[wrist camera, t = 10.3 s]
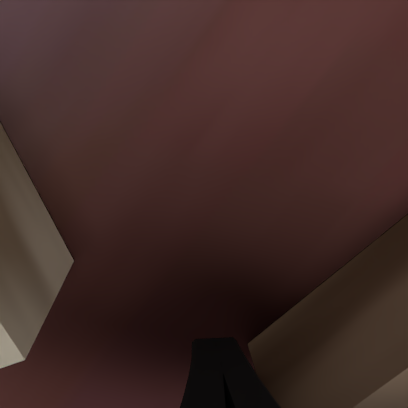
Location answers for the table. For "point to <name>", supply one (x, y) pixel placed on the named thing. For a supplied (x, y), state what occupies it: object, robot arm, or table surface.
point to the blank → (344, 335)
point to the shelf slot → (25, 258)
